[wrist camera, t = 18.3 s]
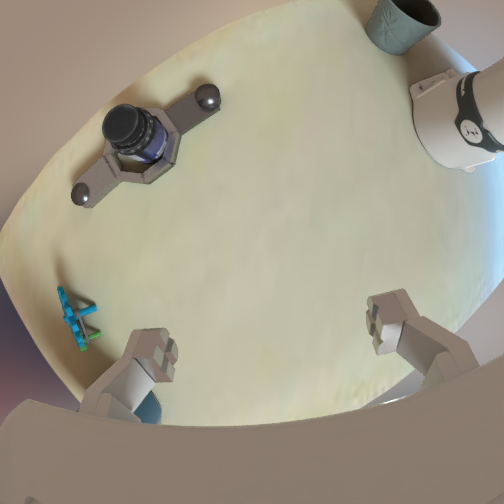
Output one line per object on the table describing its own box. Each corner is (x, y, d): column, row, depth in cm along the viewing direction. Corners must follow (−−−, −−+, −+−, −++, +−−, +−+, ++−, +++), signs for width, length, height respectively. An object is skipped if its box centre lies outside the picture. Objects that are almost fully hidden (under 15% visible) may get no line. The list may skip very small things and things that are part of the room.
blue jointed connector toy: (51, 282, 37) (57, 297, 30) (81, 272, 41) (94, 284, 34) (71, 340, 40) (84, 365, 33) (98, 329, 44) (116, 351, 37)
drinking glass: (418, 55, 34) (451, 27, 22) (382, 63, 35) (414, 28, 23) (388, 16, 33) (413, -17, 21) (349, 21, 33) (371, -19, 22)
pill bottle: (163, 118, 36) (136, 88, 25) (177, 152, 36) (152, 130, 26) (127, 138, 36) (91, 116, 25) (140, 172, 37) (104, 158, 26)
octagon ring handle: (200, 71, 35) (197, 63, 32) (240, 121, 36) (239, 115, 33) (68, 175, 36) (59, 174, 34) (96, 229, 38) (88, 230, 35)
